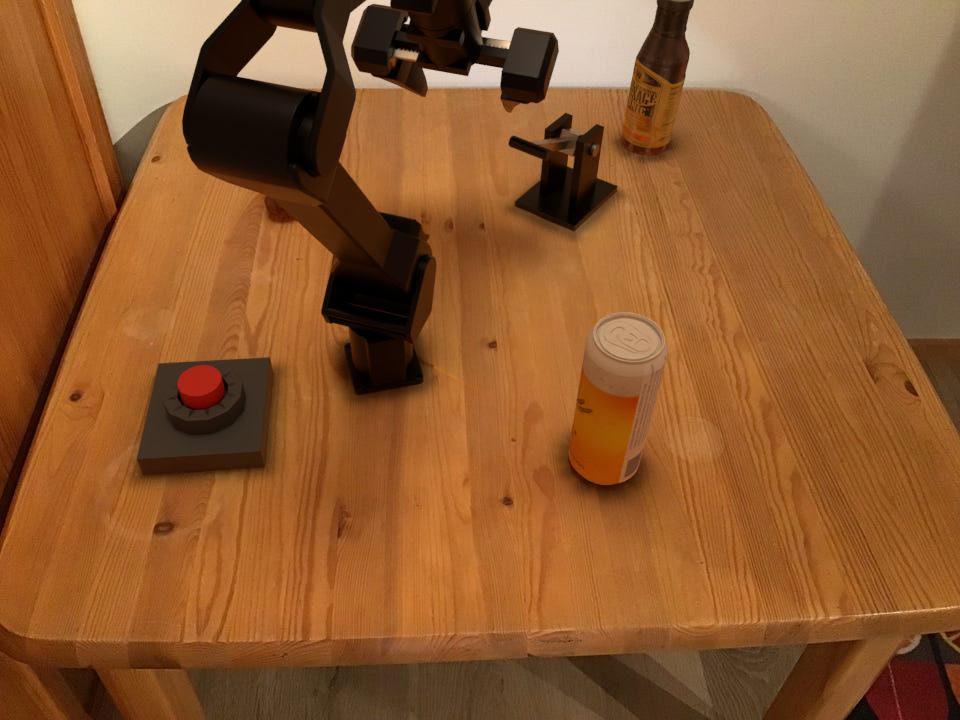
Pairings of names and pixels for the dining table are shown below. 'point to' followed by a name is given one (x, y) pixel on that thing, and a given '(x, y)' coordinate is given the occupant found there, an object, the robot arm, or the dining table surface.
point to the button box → (208, 420)
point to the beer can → (616, 396)
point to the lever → (548, 144)
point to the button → (201, 387)
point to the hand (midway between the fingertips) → (467, 100)
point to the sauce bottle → (658, 80)
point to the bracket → (569, 180)
